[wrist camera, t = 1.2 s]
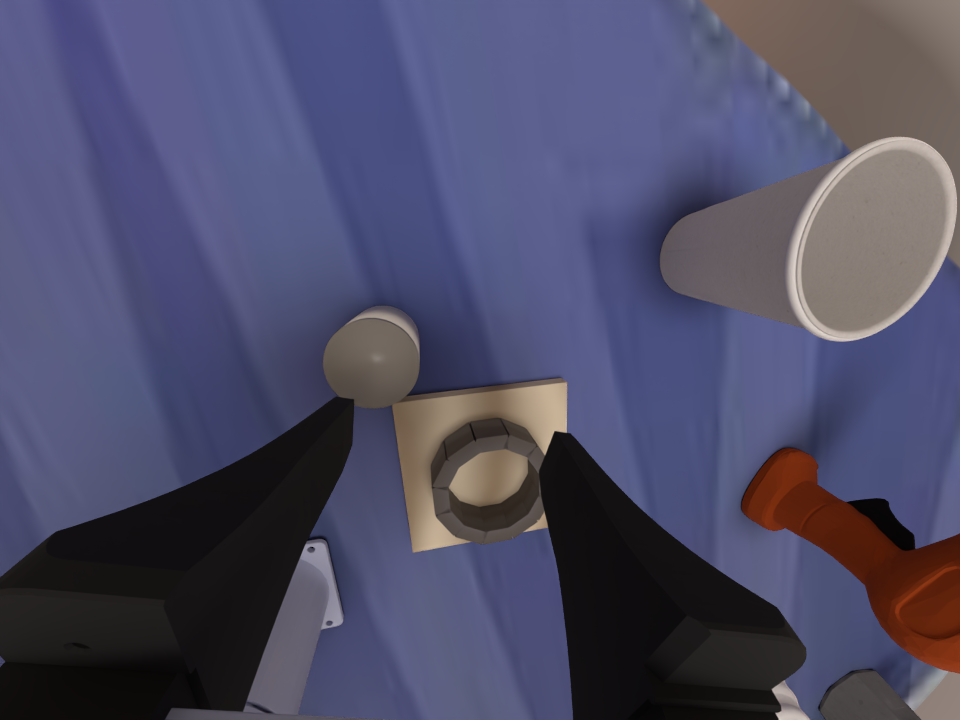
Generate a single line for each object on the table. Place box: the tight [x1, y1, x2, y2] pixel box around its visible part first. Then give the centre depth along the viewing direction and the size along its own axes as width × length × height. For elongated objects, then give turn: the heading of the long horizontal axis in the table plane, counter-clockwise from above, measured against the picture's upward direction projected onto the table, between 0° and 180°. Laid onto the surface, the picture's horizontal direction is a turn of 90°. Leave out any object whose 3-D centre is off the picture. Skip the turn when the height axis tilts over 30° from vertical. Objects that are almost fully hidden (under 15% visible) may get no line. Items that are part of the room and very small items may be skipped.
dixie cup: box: [660, 137, 957, 341], centre depth 19 cm, size 8×8×10 cm
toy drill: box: [741, 448, 960, 673], centre depth 23 cm, size 5×19×15 cm, turn 151°
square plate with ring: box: [392, 378, 567, 553], centre depth 24 cm, size 12×12×4 cm
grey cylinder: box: [323, 305, 420, 409], centre depth 19 cm, size 4×4×6 cm
